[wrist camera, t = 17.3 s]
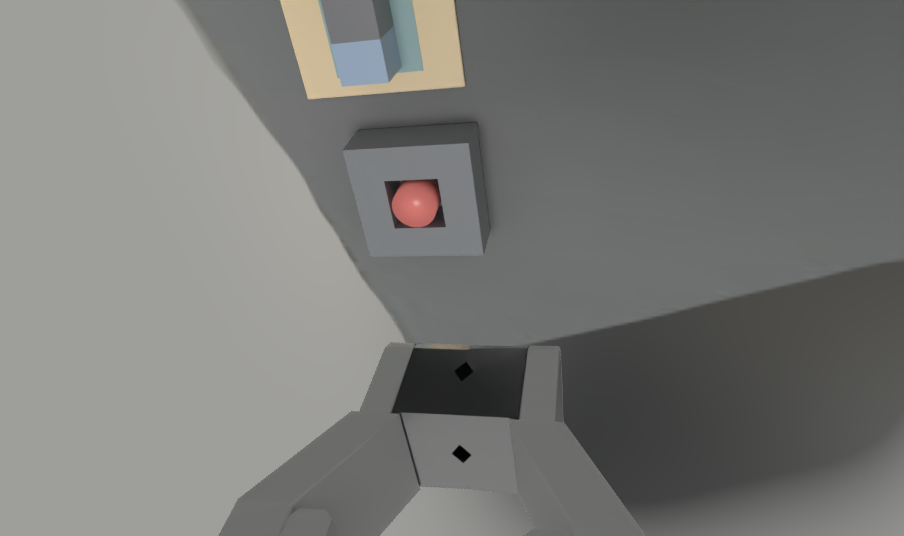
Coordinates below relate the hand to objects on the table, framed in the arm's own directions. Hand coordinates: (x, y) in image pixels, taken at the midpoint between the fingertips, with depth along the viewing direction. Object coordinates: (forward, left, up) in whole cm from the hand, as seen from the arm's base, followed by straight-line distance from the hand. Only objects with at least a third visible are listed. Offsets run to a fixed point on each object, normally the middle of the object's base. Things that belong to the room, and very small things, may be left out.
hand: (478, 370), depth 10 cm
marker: (+14, -1, -37) cm, 39 cm away
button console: (+12, +15, -37) cm, 42 cm away
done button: (+12, +15, -36) cm, 41 cm away
